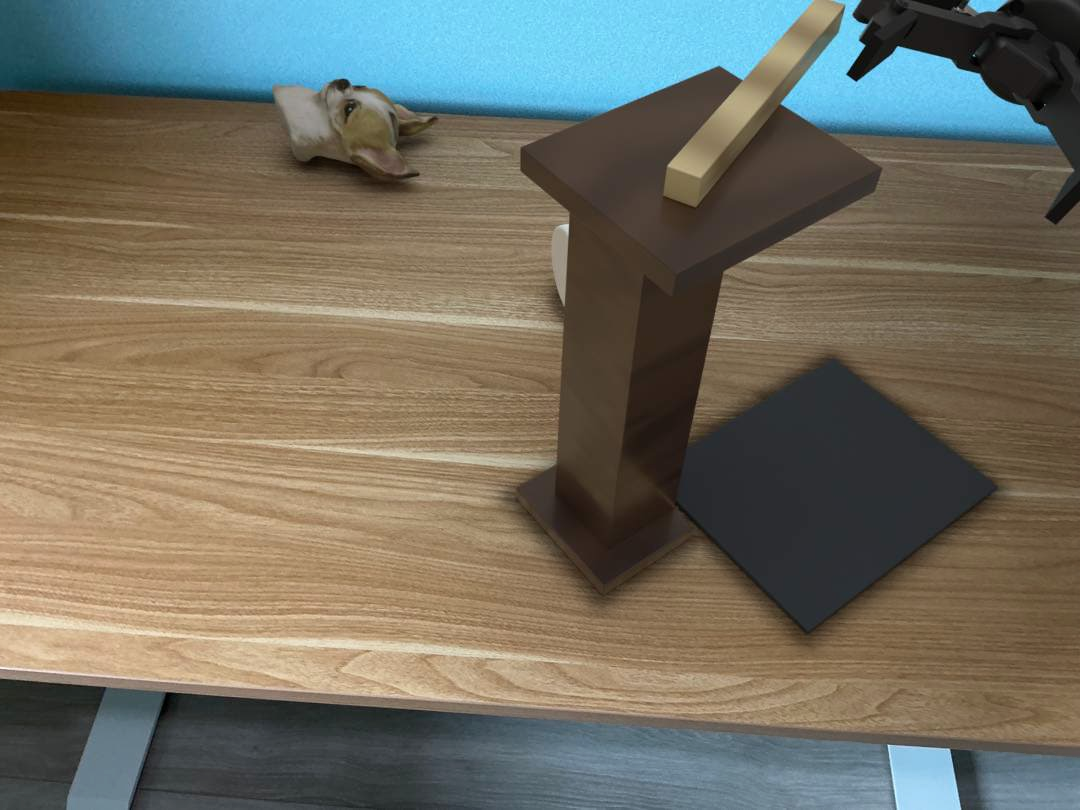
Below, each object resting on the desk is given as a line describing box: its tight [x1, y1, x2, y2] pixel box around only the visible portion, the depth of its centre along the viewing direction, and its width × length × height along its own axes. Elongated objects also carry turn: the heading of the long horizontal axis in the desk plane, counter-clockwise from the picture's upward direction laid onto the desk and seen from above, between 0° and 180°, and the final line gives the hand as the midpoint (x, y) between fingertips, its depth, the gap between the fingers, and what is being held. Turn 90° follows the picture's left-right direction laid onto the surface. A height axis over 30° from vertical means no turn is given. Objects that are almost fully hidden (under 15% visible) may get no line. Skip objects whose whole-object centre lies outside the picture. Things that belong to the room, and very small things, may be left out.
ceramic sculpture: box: [271, 78, 440, 181], centre depth 95 cm, size 11×9×15 cm
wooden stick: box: [663, 0, 846, 207], centre depth 53 cm, size 20×2×2 cm, turn 149°
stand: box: [514, 65, 883, 597], centre depth 61 cm, size 12×15×28 cm
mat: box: [675, 357, 999, 635], centre depth 73 cm, size 16×20×1 cm
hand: (963, 129), depth 55 cm, fingers open, 13 cm apart
